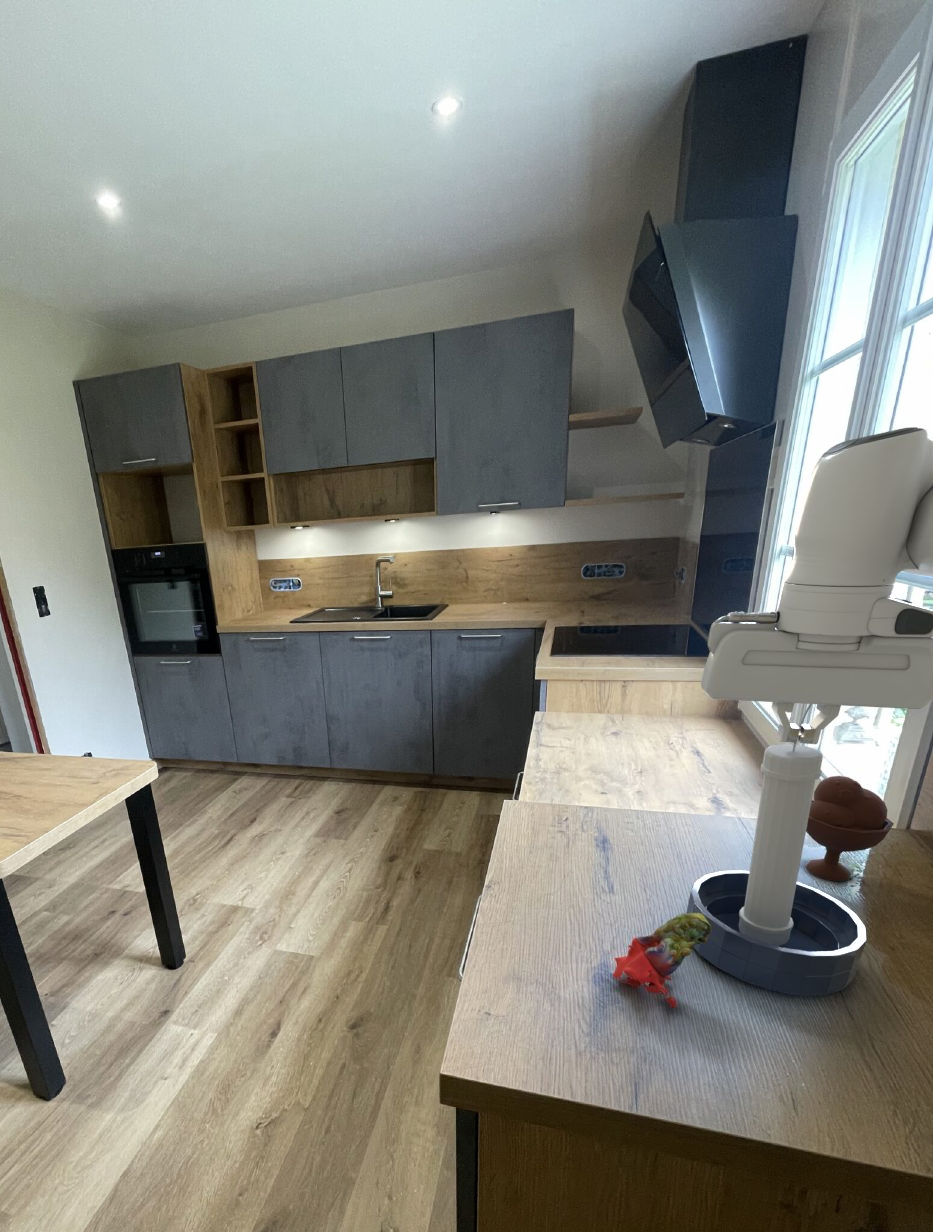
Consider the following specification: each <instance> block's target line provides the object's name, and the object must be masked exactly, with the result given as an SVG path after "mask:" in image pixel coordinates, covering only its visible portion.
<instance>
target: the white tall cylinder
mask: <svg viewBox="0 0 933 1232" xmlns="http://www.w3.org/2000/svg"><path fill="white" fill-rule="evenodd" d="M812 705H813V704H808V705H807V708H806V710H805V712H804V713H803V716H802V718H801V721H800V723H799V725H798V727H799V728H800V729H801V726H802V724H804V721H805V720H806V719H805V718H806V717H807V714H808V712H809V710H810V709H811V707H812ZM799 732H800V731H799ZM798 735H799V734H798ZM798 735H797V738H798ZM823 759H824V756H823V754H822V752H821V751H820V750H819V749H816V748H813V747H811V746H806V745H801V744H797V742H796V743H792V744H791V743H782V744H773V745H770V746H767V747H766V749H765V750H764V752H763V759H762V763H761V764H760V769H759V770H760V772H761V773H762V774H763V778H762V786H761V792H760V797H759V798H760V799H759V805H758V812H757V818H756V819H757V820H756V825H755V832H754V838H753V845H752V852H751V859H750V864H749V870H748V871H749V878H748V885H747V892H746V898H745V905H744V907H742V908H741V910H740V912H739V917H740V921H739V930H740V933H742V934H744V935H746V936H748V937H750V938H753V939H755V940H759V941H762V942H765V943H768V944H772V945H775V946H781V945H783V944H786V943H787V941H788V940H789V938H790V932H791V929H792V928H793V924H794V923H793V920H792V918H791V917H790V916H791V911H792V905H793V900H794V894H795V889H796V883H797V882H798V878H799V871H800V866H801V861H802V856H803V850H804V844H805V838H806V835H807V832H806V829H807V823H808V818H809V812H810V807H811V801H813V797H814V791H815V790H814V789H815V785H816V780H819V779H820V778H821V777H822V772H823V771H822V763H823Z"/></svg>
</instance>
